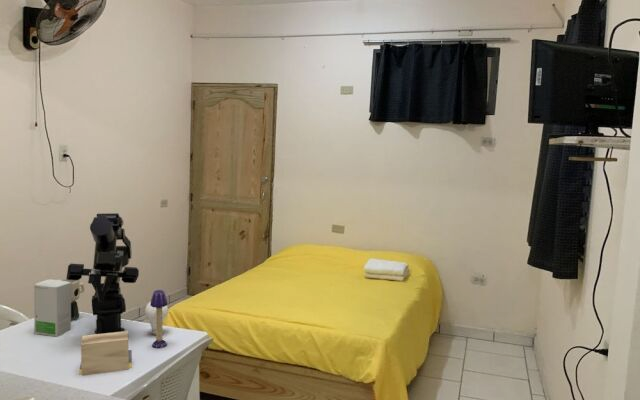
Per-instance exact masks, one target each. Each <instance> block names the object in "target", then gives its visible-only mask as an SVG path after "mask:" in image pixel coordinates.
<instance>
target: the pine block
mask: <svg viewBox="0 0 640 400" xmlns="http://www.w3.org/2000/svg"><path fill="white" fill-rule="evenodd" d="M128 350H129V331H128V330H126V331H125V330H124V331H121V332H114V333H104V334H97V333H95V334H88V335H82V337H81V343H80V356H81V357H80V360H81V361H80V365H82V374H81V376H87V375H93V374H95V375H96V374H101V373H108V372H117V371H124V370H129V369H130V368H129V352H128Z"/></svg>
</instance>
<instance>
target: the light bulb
mask: <svg viewBox="0 0 640 400" xmlns="http://www.w3.org/2000/svg"><path fill="white" fill-rule="evenodd" d="M150 304H151V301H149V302H148V303H147V304H146V306H145V307H144V308H145V309H144V314H145V317H146V318H147V320H148V321H149V323H150V327H151V334H152V335H154V336H157V335H156V332H157V330H156V327H157V325H156V322H157V320H156V316H157V315H156V311H157V310H156V308H155V307H152V306H151V305H150ZM162 312H163V313H162V317H163V318H162V321H163V322H164V321H165V319H166V317H167V316H168V312H169V308H168V304H167V305H166V306H165V307H162ZM163 325H164V323H163V324H162V326H163Z"/></svg>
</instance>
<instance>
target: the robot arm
mask: <svg viewBox="0 0 640 400" xmlns="http://www.w3.org/2000/svg"><path fill="white" fill-rule="evenodd" d="M123 226H124V220H123V217H122V216H120V214H119V213H118V212H117V213H115V212H112V213H111V212H110V213H97V214H96V216H95V217H93V220H92V222H91V224H90V225H89V230H90V233H91V236H92V238H93V241H94V242H95V244H94V245H95V247H94V255H93V263H92V264H93V265H92V268H84V267H85V264H84V263H69V264H68V265H67V271H66V277H65V278H66V279H67V280H79V281H80V280H81V279H82V278H83V277H82V276H84V277H85V276H88V281H87V283H88V284H90V285H92V287H93V289H94V295H92V296H91V311H92V316H96V319H95V330H94V331H93V333H95V334H104V333H114V332H123V331H125V328H124V327H122V315H123V313H125V312H127V307H126V299H125V298H124V296H123V294H122V291H121V287H120V285H121V284H120V281H122V282H123V283H125V284H134V283H136V282H137V280H138V278H139V276H140V275H139V272H140V271H139V268H138V267H134V266H128V265H129V263H130V260H131V259H132V242H131V241H130V239H129V238H128V236H127V235H126V232H125V230H126V229H125V228H123ZM119 240H121V241H122V243H123V244H124V245H117V241H119ZM103 277H105V278H104V282H103V283H102V278H103Z"/></svg>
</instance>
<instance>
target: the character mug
mask: <svg viewBox="0 0 640 400" xmlns="http://www.w3.org/2000/svg"><path fill="white" fill-rule="evenodd" d="M58 280H61V281H67V282H71V321H72V319H74V320H76V319H78V318H79V317H80V311H79V306H78V302H77V300H79V299H80V296H81V294H82V293H84V292H85V283H84V282H80V279H79V280H67V279H66V277H65V278H59V279H58Z"/></svg>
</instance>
